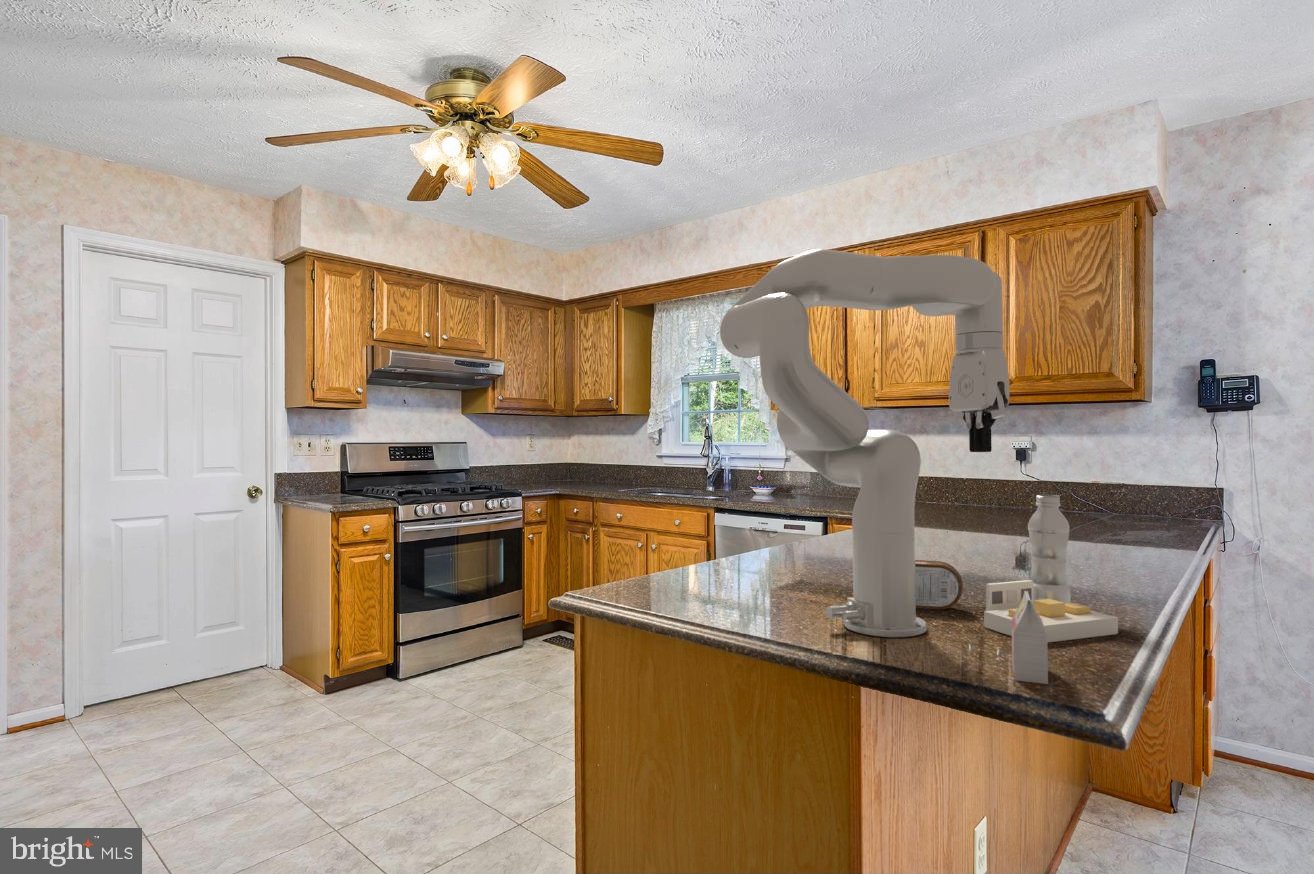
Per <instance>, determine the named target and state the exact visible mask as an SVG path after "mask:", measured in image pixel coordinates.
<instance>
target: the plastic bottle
mask: <svg viewBox="0 0 1314 874" xmlns="http://www.w3.org/2000/svg"><path fill="white" fill-rule="evenodd" d="M1060 499H1061V497H1060V495H1058V494H1057V495H1055V494H1036V496H1035V500H1036V501H1035V506H1036V507H1037V509H1036V510H1035V511H1034V513H1033V514H1032V515H1031V517H1030V518H1029V520H1028V523H1027V530H1028V536H1029V542H1030V550H1031V551H1030V553H1031V570H1030V571H1031V572H1030V580H1031V581H1033V606H1034V600H1042V599H1052V600H1056V601H1060V602H1064V603H1065V604H1066V603H1071V597H1072V596H1071V590H1070V589H1071V588H1070V586H1069V582H1068V571H1067V553H1068V552H1067V551H1068V550H1067V549H1068V542H1069V538H1070V527H1071V526H1070V524H1069V521H1068V520H1067V518H1066V517H1065V515H1064V514H1063V513H1062V512H1061V511H1060V509H1059V507H1061V505H1062V504H1061V500H1060Z"/></svg>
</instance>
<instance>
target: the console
mask: <svg viewBox="0 0 1314 874" xmlns="http://www.w3.org/2000/svg"><path fill="white" fill-rule="evenodd" d="M1012 609H1018V608H1012ZM1012 618H1013V617H1009V613H1008V609H1002V610H993V611H986V610H984V611H983V621H984V622H983V627H984V628H985V629H989V630H992V631H995V632H996V633H997V632H998V633H1001V634H1004V635H1007V636H1010V637H1012V624H1011V620H1012ZM1040 618H1041V620H1042V622H1043V625H1044V628H1045V631H1046V634H1047V643H1053V642H1062V641H1070V640H1079V639H1087V638H1094V637H1095V638H1096V637H1102V636H1110V635H1118V634H1119V617H1118V616H1115V615H1114V616H1113V615H1109V614H1106V613H1101V612H1098V611H1094V610H1091V609H1090V614H1082V615H1073V614H1069V613H1065V616H1064V617H1055V618H1048V617H1045V616H1041V615H1040ZM1117 633H1118V634H1117Z"/></svg>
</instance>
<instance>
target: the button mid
mask: <svg viewBox="0 0 1314 874" xmlns="http://www.w3.org/2000/svg"><path fill="white" fill-rule="evenodd" d="M1034 608H1035V609H1036V611H1037V612H1039V615H1041V616H1045V617H1048V618H1055V617H1064V616H1065V603H1064V602H1060V601H1056V600H1052V599H1042V600H1034Z"/></svg>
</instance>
